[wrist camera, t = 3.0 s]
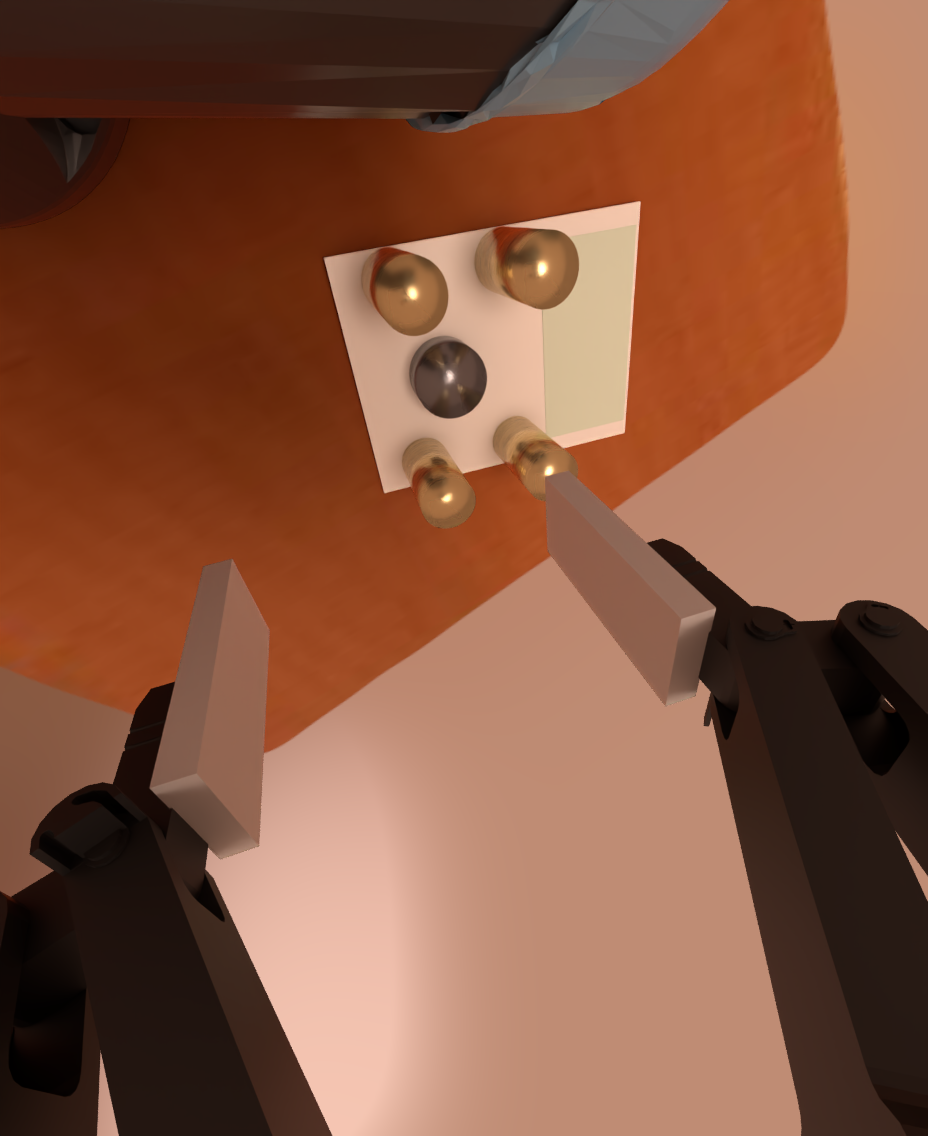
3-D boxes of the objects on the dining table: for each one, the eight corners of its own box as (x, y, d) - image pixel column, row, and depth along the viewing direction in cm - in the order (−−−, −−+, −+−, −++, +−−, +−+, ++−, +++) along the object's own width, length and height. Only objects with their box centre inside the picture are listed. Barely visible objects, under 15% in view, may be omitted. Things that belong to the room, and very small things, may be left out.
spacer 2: (397, 443, 30) (416, 486, 26) (444, 432, 31) (472, 472, 26) (407, 487, 32) (427, 534, 28) (451, 476, 33) (478, 520, 28)
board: (323, 257, 25) (324, 258, 24) (635, 201, 27) (641, 201, 27) (383, 489, 32) (384, 493, 32) (620, 430, 35) (625, 433, 34)
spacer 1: (354, 252, 24) (369, 262, 20) (413, 241, 25) (442, 248, 20) (369, 319, 26) (386, 342, 22) (424, 308, 27) (453, 328, 22)
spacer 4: (490, 421, 31) (526, 458, 27) (535, 411, 32) (578, 445, 27) (494, 465, 33) (529, 506, 28) (536, 455, 34) (577, 494, 29)
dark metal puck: (402, 343, 27) (409, 351, 26) (472, 329, 28) (482, 336, 26) (416, 414, 30) (423, 425, 28) (480, 400, 30) (490, 410, 29)
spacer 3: (471, 231, 25) (512, 236, 21) (526, 221, 26) (579, 223, 21) (477, 297, 27) (517, 315, 22) (529, 287, 28) (578, 302, 23)
